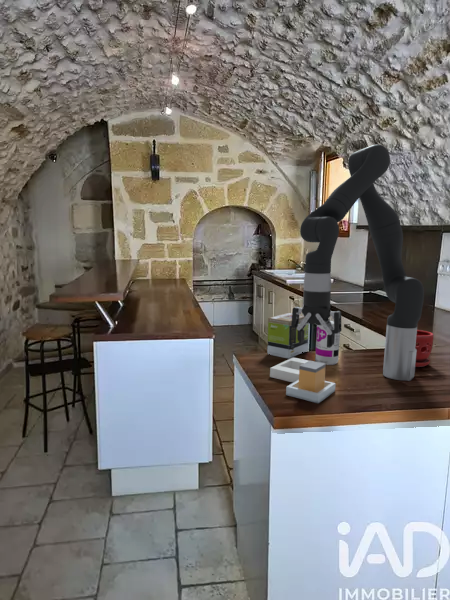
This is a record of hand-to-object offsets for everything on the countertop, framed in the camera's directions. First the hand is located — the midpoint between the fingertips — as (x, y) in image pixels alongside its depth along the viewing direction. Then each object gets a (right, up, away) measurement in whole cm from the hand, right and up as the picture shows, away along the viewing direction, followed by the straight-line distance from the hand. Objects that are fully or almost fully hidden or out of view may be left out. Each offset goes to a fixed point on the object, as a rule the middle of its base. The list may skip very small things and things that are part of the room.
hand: (315, 344), depth 124 cm
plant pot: (+43, -11, +35) cm, 56 cm away
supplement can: (+11, -10, +34) cm, 37 cm away
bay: (-2, -12, +20) cm, 23 cm away
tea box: (-1, -8, +46) cm, 47 cm away
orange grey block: (-1, -14, +3) cm, 14 cm away
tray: (-1, -14, +3) cm, 15 cm away
